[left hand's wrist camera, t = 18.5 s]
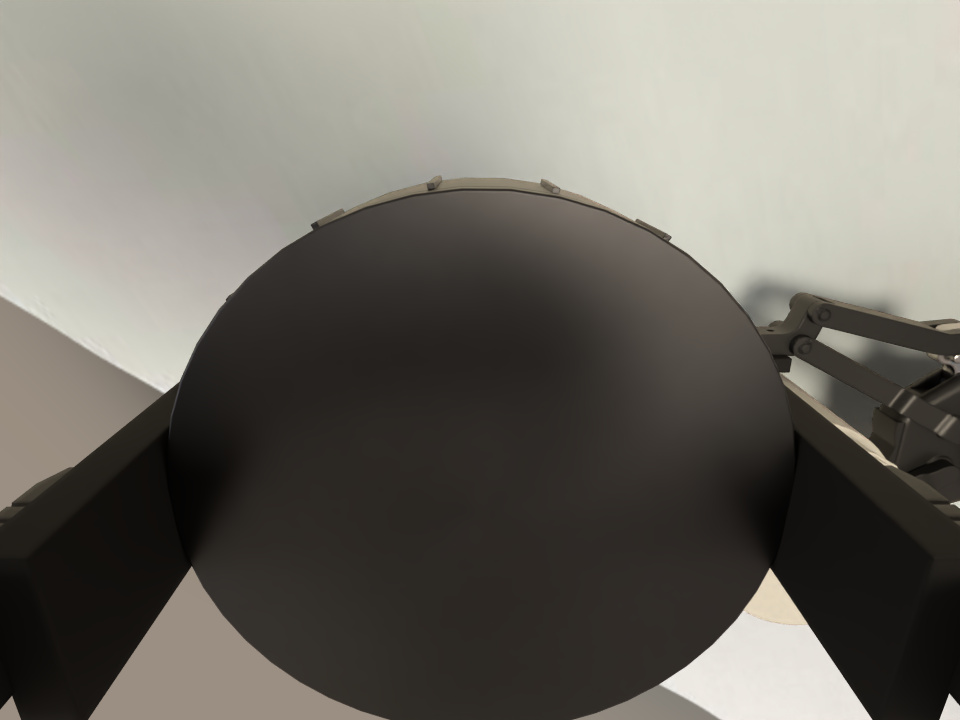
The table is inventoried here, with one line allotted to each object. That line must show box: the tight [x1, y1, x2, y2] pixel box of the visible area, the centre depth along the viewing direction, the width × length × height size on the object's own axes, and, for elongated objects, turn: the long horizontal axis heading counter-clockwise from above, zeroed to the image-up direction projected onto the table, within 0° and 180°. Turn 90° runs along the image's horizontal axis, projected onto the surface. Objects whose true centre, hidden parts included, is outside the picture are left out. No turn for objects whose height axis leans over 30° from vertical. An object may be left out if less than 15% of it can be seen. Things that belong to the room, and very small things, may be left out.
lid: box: [167, 176, 796, 720], centre depth 11 cm, size 10×11×2 cm
